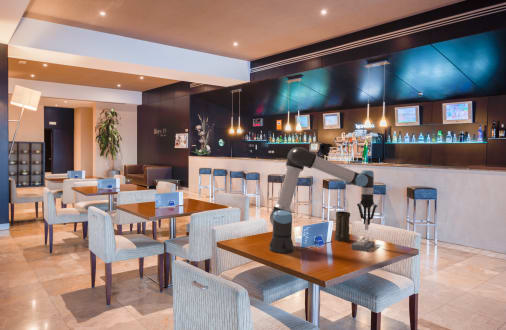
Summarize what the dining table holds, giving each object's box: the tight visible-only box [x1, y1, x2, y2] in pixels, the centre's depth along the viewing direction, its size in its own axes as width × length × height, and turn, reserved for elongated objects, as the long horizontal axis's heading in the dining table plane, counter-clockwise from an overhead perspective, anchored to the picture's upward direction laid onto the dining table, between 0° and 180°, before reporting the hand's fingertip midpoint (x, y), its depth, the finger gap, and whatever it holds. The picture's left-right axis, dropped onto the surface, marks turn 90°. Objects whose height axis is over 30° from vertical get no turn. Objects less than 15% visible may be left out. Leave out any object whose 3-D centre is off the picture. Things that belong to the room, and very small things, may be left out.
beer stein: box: [333, 210, 351, 242], centre depth 247 cm, size 15×11×20 cm
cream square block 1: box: [356, 239, 365, 246], centre depth 224 cm, size 4×4×3 cm
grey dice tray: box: [350, 238, 376, 253], centre depth 229 cm, size 10×18×3 cm, turn 148°
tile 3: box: [362, 236, 371, 242], centre depth 233 cm, size 4×4×3 cm
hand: (366, 229), depth 232 cm, fingers closed
